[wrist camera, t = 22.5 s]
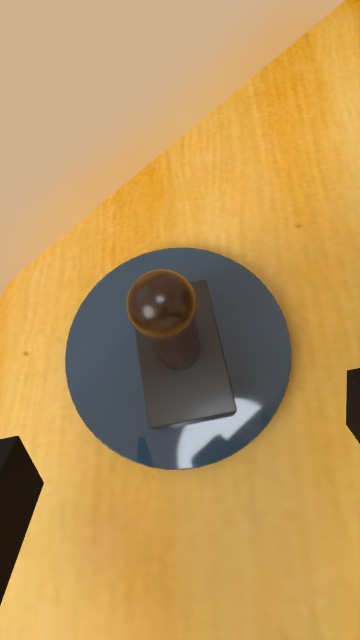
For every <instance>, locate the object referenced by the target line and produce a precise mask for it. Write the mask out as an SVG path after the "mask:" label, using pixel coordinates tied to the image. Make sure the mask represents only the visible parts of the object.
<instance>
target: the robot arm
mask: <svg viewBox="0 0 360 640" xmlns="http://www.w3.org/2000/svg"><path fill="white" fill-rule="evenodd" d="M346 425H347V426H348V428H349V429H350V431H351V432H352V433H353V435H354V436H355V438H356V439H357V440H358V442H359V443H360V368H358V369H353V370H348V371H347V403H346ZM43 484H44V482H43V480H42V478H41V477H40V475H39V473H38V471H37V469H36V467H35V465H34V464H33V462H32V460H31V458H30V456H29V454H28V453H27V451H26V449H25V447H24V445H23V443H22V441H21V440H20V438H19V436H14V437H9V438H4V439H0V605H1V602H2V599H3V596H4V593H5V591H6V588H7V585H8V582H9V579H10V577H11V574H12V571H13V568H14V565H15V563H16V560H17V557H18V554H19V551H20V548H21V546H22V543H23V540H24V537H25V534H26V532H27V529H28V526H29V523H30V520H31V518H32V515H33V512H34V509H35V506H36V503H37V501H38V498H39V495H40V492H41V489H42V487H43Z"/></svg>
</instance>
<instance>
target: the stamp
mask: <svg viewBox="0 0 360 640" xmlns="http://www.w3.org/2000/svg"><path fill="white" fill-rule="evenodd" d="M126 310H127V315H128V318H129V320H130V322H131V324H132V325H133V327H134V328H135V335H136V342H137V349H138V356H139V362H140V369H141V376H142V383H143V390H144V397H145V403H146V410H147V417H148V424H149V428H150V429H155V430H157V429H162V428H167V427H172V426H177V425H182V424H187V423H192V422H197V421H202V420H207V419H212V418H217V417H222V416H227V415H232V414H235V413H236V412H237V408H236V404H235V400H234V396H233V391H232V387H231V383H230V379H229V374H228V370H227V366H226V362H225V357H224V353H223V349H222V345H221V341H220V336H219V332H218V328H217V324H216V319H215V315H214V311H213V307H212V302H211V298H210V294H209V290H208V285H207V281H206V279H204V280H199V281H194V282H188V280H187V279H185V278H184V277H183V276H182V275H180V274H178V273H176V272H174V271H171V270H165V269H158V270H152V271H149V272H147V273H145V274H143V275H142V276H140V277H139V278H138V279H137V280H136V281H135V282H134V283H133V285H132V286H131V288H130V290H129V292H128V295H127V300H126Z"/></svg>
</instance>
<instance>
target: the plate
mask: <svg viewBox="0 0 360 640" xmlns="http://www.w3.org/2000/svg"><path fill="white" fill-rule="evenodd" d="M158 269H165V270H171V271H174V272H176V273H178V274H180V275H182V276H183V277H184V278H185V279H187V280H188V282H194V281H199V280H204V279H206V281H207V285H208V290H209V294H210V298H211V302H212V307H213V311H214V315H215V319H216V324H217V328H218V332H219V336H220V341H221V345H222V349H223V353H224V357H225V362H226V366H227V370H228V374H229V379H230V383H231V387H232V391H233V396H234V400H235V404H236V408H237V412H236V413H235V414H232V415H227V416H222V417H217V418H212V419H207V420H202V421H197V422H192V423H187V424H182V425H177V426H172V427H167V428H162V429H157V430H155V429H150V428H149V424H148V417H147V410H146V403H145V397H144V390H143V383H142V376H141V369H140V362H139V356H138V349H137V342H136V335H135V328H134V327H133V325H132V324H131V322H130V320H129V318H128V315H127V310H126V300H127V295H128V292H129V290H130V288H131V286H132V285H133V283H134V282H135V281H136V280H137V279H138V278H139V277H140V276H142V275H143V274H145V273H147V272H149V271H152V270H158ZM65 363H66V377H67V383H68V388H69V391H70V394H71V398H72V401H73V403H74V405H75V407H76V409H77V411H78V414H79V415H80V417H81V418H82V420H83V421H84V423H85V425H86V426H87V427H88V428H89V430H90V431H91V432H92V433H93V434H94V435H95V437H96V438H98V439H99V440H100V441H101V442H102V443H103V444H104V445H106V446H107V447H108V448H109V449H111V450H112V451H114V452H115V453H117V454H119V455H120V456H122V457H124V458H126V459H128V460H131V461H133V462H135V463H138V464H141V465H145V466H148V467H152V468H159V469H166V470H185V469H192V468H199V467H203V466H206V465H210V464H213V463H216V462H218V461H221V460H223V459H225V458H227V457H229V456H232V455H233V454H235V453H236V452H238V451H239V450H241V449H242V448H244V447H245V446H247V445H248V444H249V443H250V442H251V441H252V440H254V439H255V438H256V437H257V436H258V435H259V434H260V433H261V432H262V430H263V429H264V428H265V427H266V426H267V425H268V424H269V422H270V421H271V419H272V417H273V416H274V414H275V413H276V411H277V410H278V408H279V405H280V403H281V401H282V399H283V397H284V394H285V391H286V388H287V384H288V381H289V375H290V369H291V344H290V336H289V332H288V328H287V324H286V321H285V318H284V316H283V313H282V311H281V309H280V307H279V305H278V303H277V302H276V300H275V298H274V296H273V295H272V294H271V292H270V291H269V290H268V289H267V287H266V286H265V285H264V284H263V283H262V282H261V281H260V280H259V279H258V278H257V277H256V276H255V275H254V274H253V273H251V272H250V271H249V270H248V269H246V268H245V267H244V266H242V265H240V264H238V263H237V262H235V261H233V260H231V259H229V258H227V257H225V256H222V255H220V254H217V253H213V252H210V251H206V250H200V249H194V248H168V249H162V250H157V251H153V252H149V253H146V254H142V255H140V256H138V257H135V258H133V259H130V260H129V261H127V262H125V263H123V264H121V265H120V266H118V267H117V268H115V269H114V270H112V271H111V272H110V273H108V274H107V275H106V276H105V277H104V278H103V279H102V280H101V281H99V282H98V283H97V284H96V286H95V287H94V288H93V289H92V290H91V291H90V293H89V294H88V295H87V297H86V298H85V300H84V301H83V303H82V304H81V306H80V308H79V310H78V312H77V314H76V315H75V318H74V320H73V323H72V326H71V328H70V332H69V336H68V340H67V346H66V356H65Z"/></svg>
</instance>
